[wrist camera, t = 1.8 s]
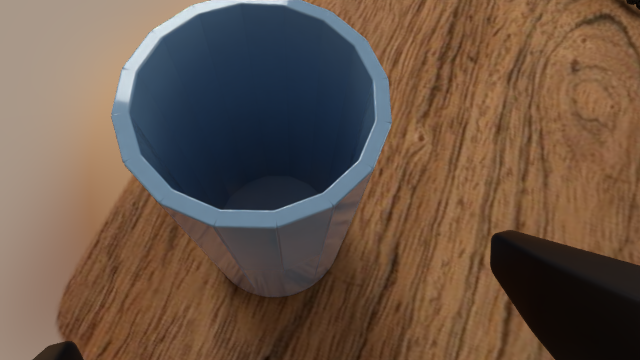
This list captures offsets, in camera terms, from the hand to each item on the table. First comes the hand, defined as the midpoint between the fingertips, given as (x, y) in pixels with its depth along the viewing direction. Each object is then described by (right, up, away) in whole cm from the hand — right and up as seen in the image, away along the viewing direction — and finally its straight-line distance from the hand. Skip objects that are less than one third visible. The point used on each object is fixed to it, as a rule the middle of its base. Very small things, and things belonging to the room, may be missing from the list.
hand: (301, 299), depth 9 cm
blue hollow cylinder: (-2, 0, +12) cm, 12 cm away
